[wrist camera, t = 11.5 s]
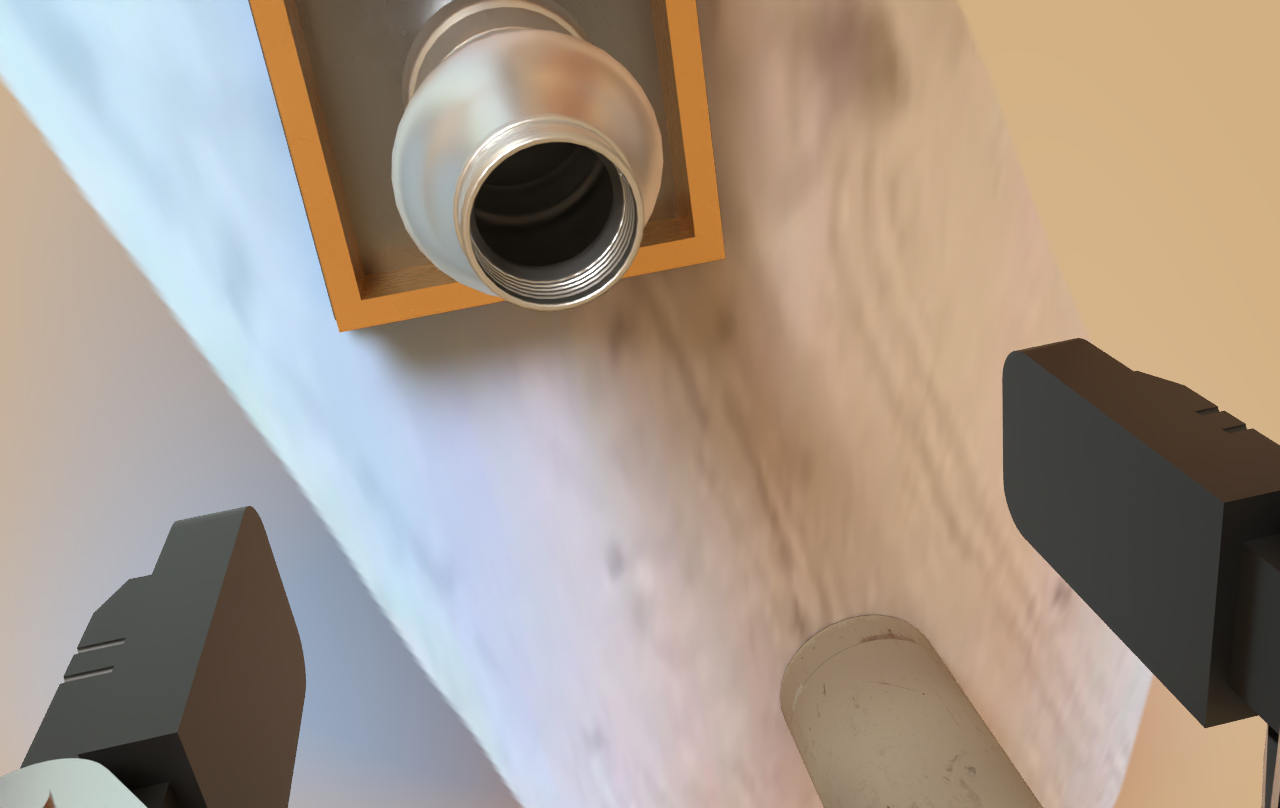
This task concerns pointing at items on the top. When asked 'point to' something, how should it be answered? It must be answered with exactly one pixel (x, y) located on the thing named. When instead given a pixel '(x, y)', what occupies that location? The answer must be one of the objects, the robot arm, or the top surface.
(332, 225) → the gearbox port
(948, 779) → the thermos bottle
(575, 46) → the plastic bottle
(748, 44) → the top surface
